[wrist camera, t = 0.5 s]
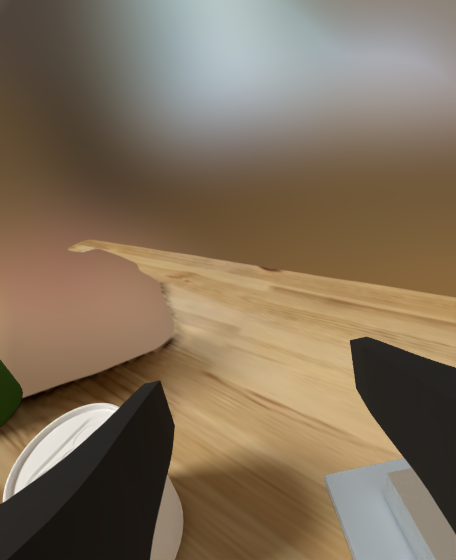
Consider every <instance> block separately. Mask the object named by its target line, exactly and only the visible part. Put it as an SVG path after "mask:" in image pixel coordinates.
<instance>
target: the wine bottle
mask: <svg viewBox="0 0 456 560" xmlns="http://www.w3.org/2000/svg"><path fill="white" fill-rule="evenodd" d="M22 395H23V392H22V388H21V386H20V384H19V383H18V382H17V381H16V379H15V378H14V377H13V375H12V374H11V373H10V372H9V370H8V369H7V368H6V366H5V365H4V364H3V363H2V361H1V360H0V426H2V425H3V424H4V423H5V422H6V421H7V420H8V419H9V418H10V417H11V416H12V415H13V414H14V412H15V411H16V410H17V408H18V407H19V405H20V403H21V400H22Z"/></svg>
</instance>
